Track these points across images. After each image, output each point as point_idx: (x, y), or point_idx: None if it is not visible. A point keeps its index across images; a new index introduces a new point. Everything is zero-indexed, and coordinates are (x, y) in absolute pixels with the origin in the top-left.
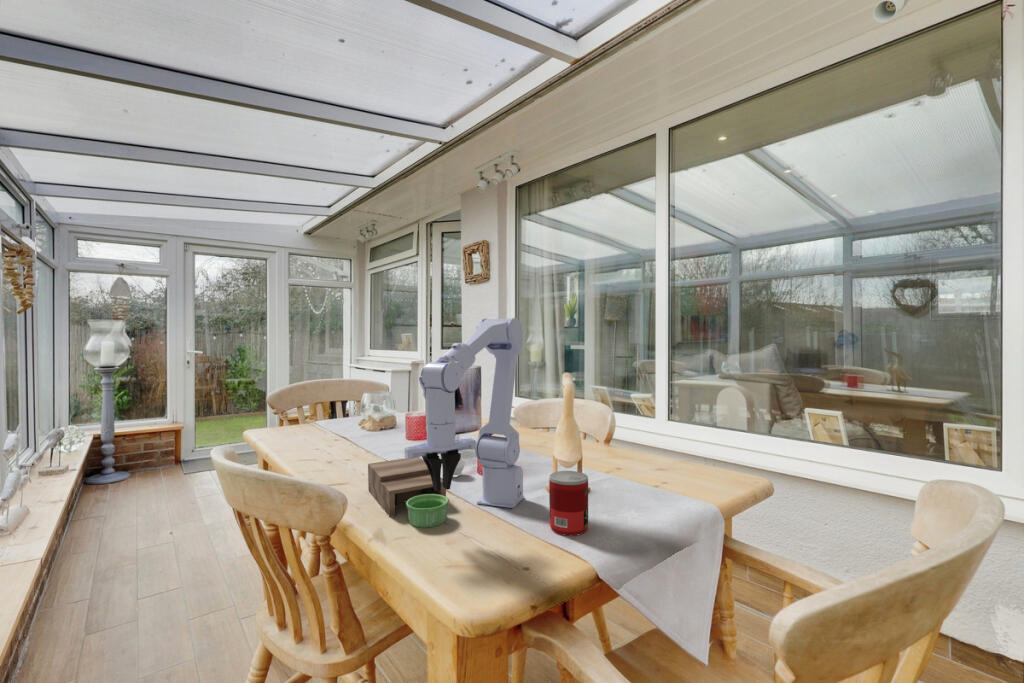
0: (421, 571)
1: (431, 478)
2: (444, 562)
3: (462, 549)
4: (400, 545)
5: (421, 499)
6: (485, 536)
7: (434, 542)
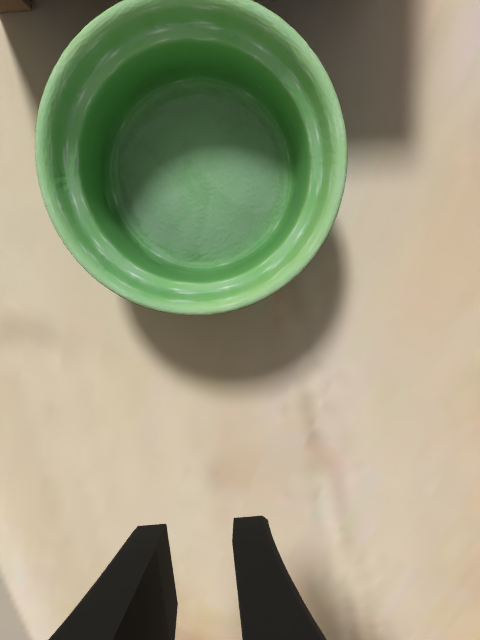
0: None
1: (83, 603)
2: None
3: None
4: (18, 407)
5: (180, 28)
6: (388, 483)
7: (166, 443)
